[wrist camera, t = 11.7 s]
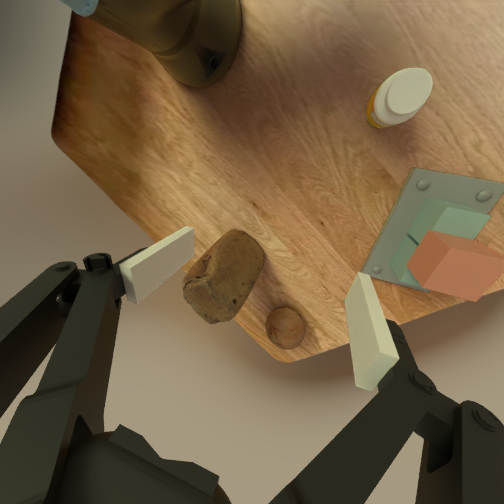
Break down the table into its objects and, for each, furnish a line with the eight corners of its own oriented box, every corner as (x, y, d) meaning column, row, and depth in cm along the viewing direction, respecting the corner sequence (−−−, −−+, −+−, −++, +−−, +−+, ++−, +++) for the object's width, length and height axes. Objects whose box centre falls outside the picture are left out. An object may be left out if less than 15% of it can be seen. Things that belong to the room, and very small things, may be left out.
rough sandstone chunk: (271, 258, 47) (241, 321, 30) (247, 271, 50) (208, 334, 33) (242, 219, 45) (192, 264, 28) (219, 236, 48) (163, 285, 31)
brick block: (428, 229, 29) (451, 247, 23) (477, 240, 27) (513, 261, 22) (406, 265, 31) (422, 287, 26) (450, 276, 30) (475, 302, 25)
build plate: (412, 167, 32) (433, 171, 26) (503, 182, 29) (550, 192, 23) (360, 271, 42) (366, 292, 35) (425, 289, 39) (444, 315, 33)
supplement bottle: (390, 74, 28) (418, 43, 20) (417, 102, 28) (455, 83, 20) (356, 111, 31) (368, 98, 23) (381, 136, 31) (402, 133, 23)
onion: (275, 304, 56) (250, 320, 49) (302, 298, 49) (278, 316, 42) (289, 336, 55) (266, 358, 48) (319, 335, 49) (297, 360, 42)
